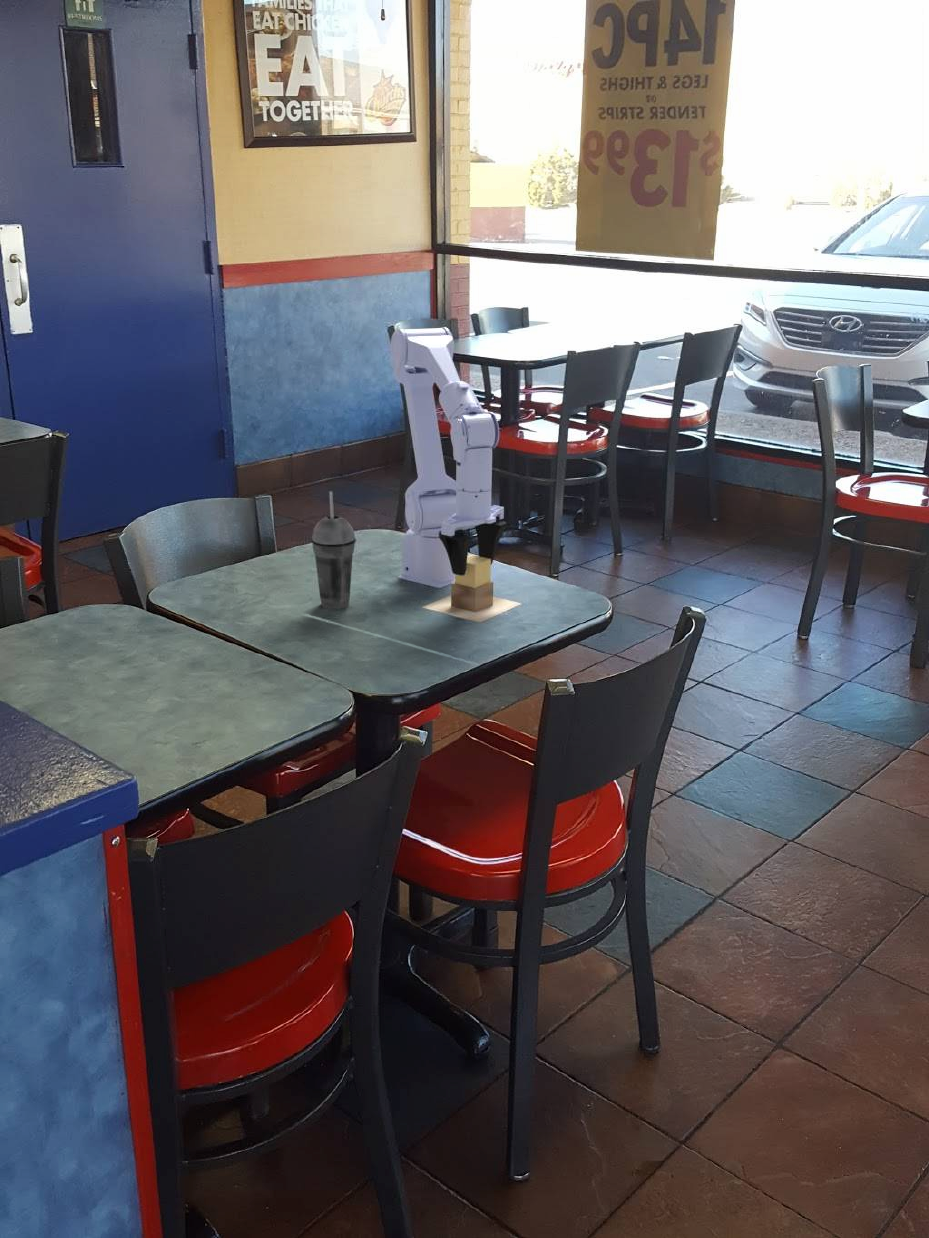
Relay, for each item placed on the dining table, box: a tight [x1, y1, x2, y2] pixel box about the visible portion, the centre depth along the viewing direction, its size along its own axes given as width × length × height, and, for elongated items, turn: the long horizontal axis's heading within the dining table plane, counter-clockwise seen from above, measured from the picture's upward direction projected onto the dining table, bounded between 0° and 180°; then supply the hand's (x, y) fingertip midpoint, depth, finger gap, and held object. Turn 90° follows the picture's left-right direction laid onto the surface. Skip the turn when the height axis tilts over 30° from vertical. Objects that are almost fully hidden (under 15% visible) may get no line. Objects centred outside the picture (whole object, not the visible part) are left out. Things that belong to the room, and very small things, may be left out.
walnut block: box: [450, 580, 494, 612], centre depth 200 cm, size 5×5×4 cm
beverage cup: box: [311, 490, 357, 610], centre depth 197 cm, size 7×7×20 cm
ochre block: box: [455, 554, 492, 588], centre depth 199 cm, size 4×4×4 cm
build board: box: [421, 594, 522, 624], centre depth 201 cm, size 12×12×1 cm
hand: (472, 568), depth 199 cm, fingers open, 7 cm apart
